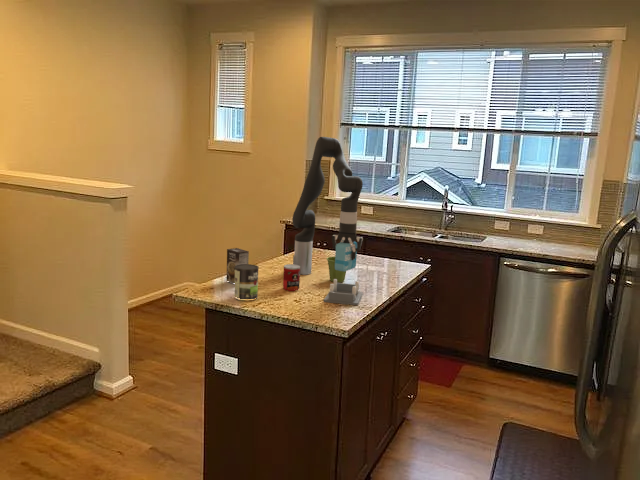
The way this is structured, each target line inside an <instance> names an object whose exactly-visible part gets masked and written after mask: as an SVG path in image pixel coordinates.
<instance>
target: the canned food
mask: <svg viewBox="0 0 640 480" xmlns="http://www.w3.org/2000/svg"><path fill="white" fill-rule="evenodd" d="M282 275H283V277H282V278H283V281H282V289H283V290H284V289H285V290H284V291H287V290H288V292H296V291H295V290H297V291H298V289H299V290H300V279H301V278H300V277H301V274H300V266H299V265H294V264H293V263H291V264H290V263H289V264H284V266H283V274H282Z"/></svg>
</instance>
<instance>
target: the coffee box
mask: <svg viewBox="0 0 640 480" xmlns="http://www.w3.org/2000/svg"><path fill="white" fill-rule="evenodd" d="M249 255H250V252H249V250H245V249H242V248H239V247H238V248H237V247H236V248H235V247H234V248H227V249H226V279H225V280H226V281H225V282H227V281H229V282H232V283H235V266H236V265H240V264H249V259H250V258H249ZM229 282H228V283H229ZM232 283H231V284H232Z"/></svg>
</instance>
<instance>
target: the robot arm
mask: <svg viewBox="0 0 640 480" xmlns="http://www.w3.org/2000/svg"><path fill="white" fill-rule="evenodd" d="M323 157H324V158H333V159H334V161H333V163H332V170H333V172H334V174H335V176H336V179H337V185H338V187H337V188H338V189H339V191H340V192H342V193H350V195H349V196H346V197H343V198H342V199H341V202H340V214H339V224H338V225H339V227H338V233H337V234H333V235H331V243H332V249H334V250H336V245H337V240H339V241H340V242H339V243H350V245H351V247H352V250H353V252H352V260H354V259H355V257H356V251H357V252H359V251H360V250H361V247H362V244H363V240H364V238H363V236H358V234H357V225H358V224H357V223H358V203H359V202H358V201H359V198H360V194H361V193H362V189H363V179H362V178H361V176H359V175H353V170H352V169H351V167H350V166H349V164H348V162H347V161H346V157H345V154H344V150H343V148H342V145H341V143H340V141H339V139H337V138H335V137H328V136H319V137H318V138H317V140H316V143H315V145H314V149H313V154H312V159H311V163H310V166H309V169H308V173H307V175H306V178H305V181H304V185H303V189H302V192H301V194H300V197H299V200H298V202H297V204H296V206H295V208H294V212H293V214H292V221H291V223H292V225H293V227H295V228H296V229H303V230H302V231H300V232H298V233H297V234H295V236H294V254H293V258H292V264H294V265H299V266H300V276H301V275H302V276H304V275H311V274H312V265H313V262H312V261H313V245H314V244H313V242H314V236H315V228H316V214H315V212H314V210H312V209H308V208H309V206H310V205H311V204H312V203H313V202H315V201H316V200H317V199H318V198H319V196H320V195H321V193H322V191H323V188H324V185H325V182H326V181H325V174H324V172H323V169H322V166H321V165H322V164H321V163H322V159H323ZM356 241H357V248H356V247H355V244H353V243H354V242H356ZM356 258H357V257H356Z"/></svg>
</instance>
